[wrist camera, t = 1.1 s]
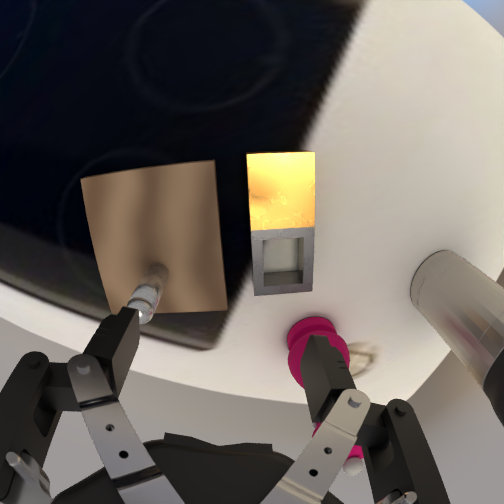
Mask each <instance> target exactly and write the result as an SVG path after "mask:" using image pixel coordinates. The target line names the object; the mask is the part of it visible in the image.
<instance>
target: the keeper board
mask: <svg viewBox="0 0 504 504" xmlns="http://www.w3.org/2000/svg"><path fill="white" fill-rule="evenodd" d="M81 185H82V191H83V197H84V203H85V209H86V214H87V219H88V224H89V229H90V234H91V238H92V243H93V247H94V251H95V255H96V260H97V264H98V267H99V271H100V275H101V279H102V282H103V286H104V289H105V293H106V296H107V299H108V303H109V306H110V309H111V312H112V314H118V313H119V311H120V310H121V308H122V307H123V306H125V307H127V303H128V301H129V299H130V298H131V296H132V294H133V292H134V290H135V289H136V287H137V285H138V283H139V282H140V280H141V278H142V277H143V275H144V273H145V271H146V270H147V268H148V266H149V265H150V264H152V263H161V264H163V265H165V266H166V267H167V269H168V271H169V278H168V281H167V283H166V285H165V288H164V290H163V293H162V295H161V298H160V300H159V303H158V305H157V308H156V310H155V313H173V312H199V311H219V310H228V300H227V290H226V280H225V270H224V260H223V249H222V239H221V227H220V216H219V204H218V192H217V179H216V165H215V160H204V161H194V162H184V163H175V164H166V165H158V166H150V167H143V168H136V169H129V170H123V171H116V172H110V173H105V174H99V175H93V176H88V177H85V178H82V179H81Z"/></svg>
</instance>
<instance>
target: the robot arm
mask: <svg viewBox="0 0 504 504" xmlns="http://www.w3.org/2000/svg"><path fill="white" fill-rule="evenodd" d="M411 299H412V302H413V304H414V305H415V306H416V308H417V309H418V310H419V311H420V312H421V313H422V314H423V316H424V317H425V318H426V319H427V320H428V322H429V323H430V324H431V325H432V326H433V328H434V329H435V330H436V331H437V332H438V334H439V335H440V336H441V337H442V338H443V340H444V341H445V342H446V343H447V344H448V346H449V347H450V348H451V349H452V351H453V352H454V353H455V354H456V356H457V357H458V358H459V359H460V361H461V362H462V363H463V364H464V366H465V367H466V368H467V370H468V371H469V372H470V373H471V375H472V376H473V377H474V379H475V380H476V381H477V383H478V384H479V385H480V387H481V388H482V389H483V391H484V392H485V394H486V395H487V397H488V398H489V400H490V402H491V404H492V407H493V409H494V411H495V413H496V415H497V417H498V418H499V420H500V422H501V423H502V425H503V426H504V288H503V287H501V286H500V285H499V284H498V283H496V282H495V281H494V280H492V279H491V278H490V277H488V276H487V275H486V274H484V273H483V272H482V271H480V270H479V269H478V268H476V267H475V266H474V265H472V264H471V263H469V262H468V261H467V260H465V259H462V258H461V257H459V256H458V255H456V254H455V253H453V252H451V251H440V252H437V253H435V254H433V255H432V256H430V257H429V258H428V259H427V260H425V262H424V263H423V264H422V265H421V266H420V268H419V269H418V271H417V272H416V274H415V277H414V279H413V282H412V285H411ZM139 339H140V326H139V310H138V309H135V308H130V307H125V306H123V307H122V308H121V310H120V311H119V313H118V315H117V316H116V315H112V314H111V315H109V316H108V317H106V318H105V319H103V321H102V322H101V324H100V325H99V328H98V329H97V330H96V332H95V334H94V335H93V337H92V338H91V340H90V342H89V343H88V345H87V347H86V348H85V350H84V352H83V354H79V355H76V356H74V357H72V358H71V359H70V360H69V361H68V363H53V362H49V359H48V357H47V356H46V355H45V354H43V353H41V352H36V351H33V352H29V353H27V354H25V355H24V356H23V357H22V358H21V359H20V361H19V363H18V364H17V366H16V367H15V369H14V370H13V372H12V374H11V375H10V377H9V379H8V380H7V382H6V384H5V385H4V387H3V389H2V391H1V392H0V504H344V503H343V502H341V501H340V500H339V499H338V498H336V497H335V496H334V495H333V494H332V493H330V492H329V491H328V490H329V488H330V486H331V485H332V483H333V481H334V480H335V478H336V476H337V475H338V473H339V471H340V469H341V468H342V466H343V464H344V462H345V461H346V459H347V457H348V455H349V453H350V451H351V449H352V447H353V446H354V445H357V446H361V448H362V452H363V456H364V460H365V464H366V468H367V473H368V477H369V481H370V485H371V489H372V494H373V499H374V503H375V504H450V501H449V498H448V495H447V492H446V489H445V487H444V484H443V481H442V478H441V476H440V473H439V470H438V468H437V465H436V463H435V460H434V458H433V455H432V452H431V450H430V447H429V445H428V443H427V440H426V438H425V435H424V433H423V431H422V428H421V426H420V424H419V421H418V419H417V417H416V414H415V413H414V410H413V408H412V406H411V405H410V404H409V403H407V402H406V401H404V400H401V399H393V400H391V401H390V402H389V403H388V404H387V406H385V405H380V404H375V403H371V402H370V399H369V398H368V396H367V395H366V394H365V393H363V392H362V391H359V390H357V389H356V386H355V384H354V381H353V379H352V376H351V374H350V371H349V369H348V367H347V364H346V363H345V359H344V357H343V354H342V353H341V352H340V351H339V350H338V349H337V348H336V347H334V346H331V345H330V342H329V339H328V337H327V336H324V335H310V337H309V339H308V342H307V344H306V347H305V350H304V352H303V355H302V358H301V362H300V371H301V376H302V380H303V384H304V389H305V393H306V397H307V402H308V406H309V410H310V415H311V419H312V423H321V426H320V427H319V429H318V430H317V432H316V433H315V435H314V436H313V437H312V439H311V440H310V442H309V443H308V445H307V446H306V447H305V449H304V450H303V451H302V453H301V454H300V456H299V457H298V458H297V460H296V461H294V460H293V459H291V458H289V457H287V456H286V455H283V454H281V453H278V452H275V451H273V450H272V444H261V443H241V444H233V445H224V446H217V445H213V444H211V443H208V442H205V441H202V440H199V439H196V438H193V437H189V436H183V435H177V434H171V433H166V432H165V435H164V439H159V440H151V441H147V442H144V443H142V442H141V440H140V439H139V437H138V435H137V434H136V432H135V430H134V428H133V426H132V425H131V423H130V421H129V419H128V417H127V415H126V414H125V411H124V410H123V407H122V406H121V404H120V402H119V400H118V397H119V395H120V392H121V389H122V387H123V384H124V381H125V379H126V376H127V374H128V371H129V368H130V366H131V363H132V361H133V358H134V356H135V353H136V351H137V348H138V345H139ZM63 411H78V412H79V411H80V412H81V413H82V415H83V418H84V421H85V423H86V426H87V428H88V431H89V433H90V435H91V438H92V440H93V442H94V445H95V447H96V449H97V451H98V453H99V456H100V458H101V460H102V462H103V464H104V467H103V468H101V469H100V470H98V471H97V472H95V473H93V474H91V475H90V476H88V477H87V478H85V479H83V480H82V481H80V482H78V483H76V484H75V485H73V486H71V487H69V488H68V489H66V490H64V491H62V492H61V493H59V494H58V495H57V496H56V497H55V498H54V499H52V498H51V496H50V491H49V489H50V481H49V478H48V476H47V475H46V473H45V472H44V471H43V469H42V468H43V464H44V461H45V458H46V455H47V452H48V449H49V446H50V443H51V441H52V438H53V435H54V432H55V430H56V427H57V424H58V422H59V419H60V417H61V414H62V412H63Z"/></svg>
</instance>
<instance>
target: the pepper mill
mask: <svg viewBox="0 0 504 504" xmlns="http://www.w3.org/2000/svg"><path fill="white" fill-rule="evenodd" d="M310 335H324V336H327V337H328V339H329V342H330V345H331V346H334V347H336V348H337V349H338V350H339V351H340V352H341V353H342V354H343V357H344V359H345V363H346V364H347V367H348V369H349V362H350V357H349V351H348V348H347V345H346V343H345V341H344V340H343V339H342V338H341V337H340V336H339V335H337V333H336V331H335V328H334V326H333V325H332V323H331V322H330V321H328V320H327V319H325V318H321V317H310V318H306V319H303V320H301V321H299V322H298V323H297V324H295V325H294V326H293V327H292V329H291V330H290V331H289V333H288V337H287V343H288V347H289V351H290V352H289V355H288V366H289V369H290V371H291V374H292V376H293V377H294V379H295V380H296V381H297V383H298V384H299V385H300V386H301V387H303V388H304V384H303V380H302V376H301V371H300V362H301V358H302V355H303V352H304V350H305V347H306V344H307V342H308V339H309V337H310ZM313 426H314V428H315V430H314V432H313V435H312V437H313V436H314V435H315V433H316V432H317V430H318V429H319V427H320V426H321V423H313ZM362 458H364V456H363V452H362V448H361V446H357V445H354V446H353V447H352V449H351V451H350V453H349V455H348V457H347V459H346V461H345V462H344V464H343V471H344V472H345V473H346V474H348V475H356V474H358V473H360V472H361V470H362V469H363V462H362V460H361V459H362Z"/></svg>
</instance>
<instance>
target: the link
mask: <svg viewBox="0 0 504 504" xmlns="http://www.w3.org/2000/svg"><path fill="white" fill-rule="evenodd" d="M246 165H247V184H248V202H249V220H250V238H251V256H252V275H253V287H254V296H260V295H273V294H286V293H298V292H309V291H312V285H313V261H314V223H315V158H314V152H311V151H307V150H302V151H264V152H246ZM284 238H298V271H287V272H274V273H263V247H262V240H268V239H284Z"/></svg>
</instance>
